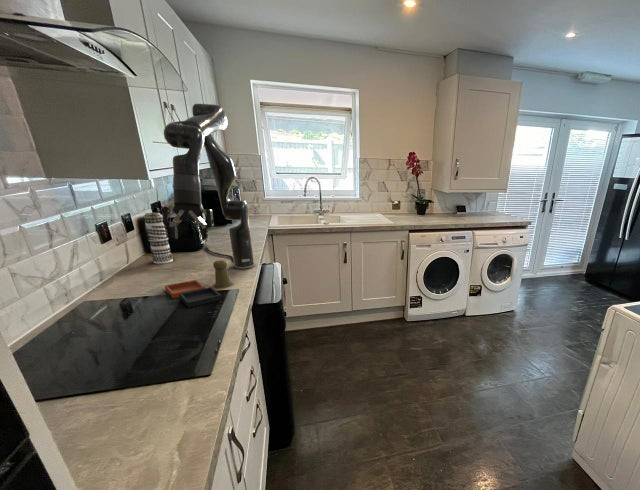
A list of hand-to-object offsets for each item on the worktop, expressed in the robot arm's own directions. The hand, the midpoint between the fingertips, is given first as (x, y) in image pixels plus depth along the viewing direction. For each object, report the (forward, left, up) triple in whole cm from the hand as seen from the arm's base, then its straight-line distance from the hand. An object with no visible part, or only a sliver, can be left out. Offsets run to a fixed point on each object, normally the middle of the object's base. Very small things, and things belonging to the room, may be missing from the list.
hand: (189, 239), depth 108 cm
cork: (-22, +14, -27) cm, 37 cm away
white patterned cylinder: (-77, +4, -27) cm, 81 cm away
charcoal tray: (-12, +3, -26) cm, 29 cm away
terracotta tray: (-25, +1, -26) cm, 36 cm away
